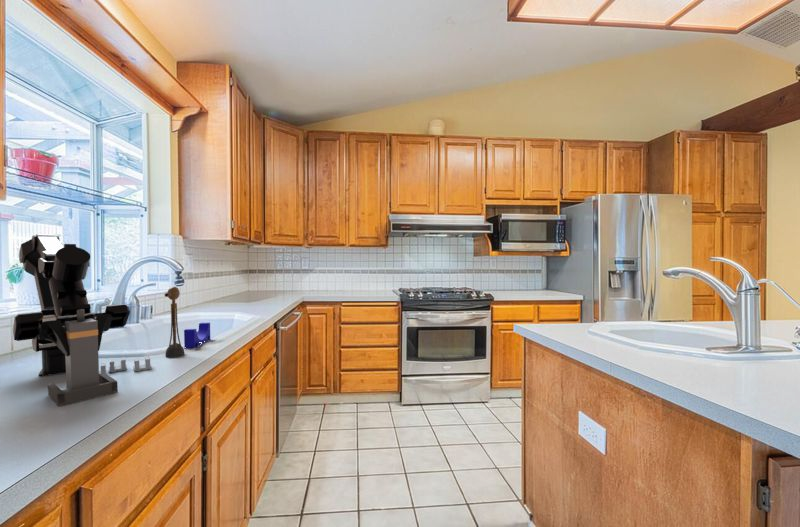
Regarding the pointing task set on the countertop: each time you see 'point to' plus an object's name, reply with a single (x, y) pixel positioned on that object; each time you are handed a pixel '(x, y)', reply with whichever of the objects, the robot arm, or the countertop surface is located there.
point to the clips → (124, 366)
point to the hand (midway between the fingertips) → (83, 352)
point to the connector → (82, 352)
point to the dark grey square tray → (83, 391)
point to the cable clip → (196, 335)
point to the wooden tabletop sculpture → (174, 326)
